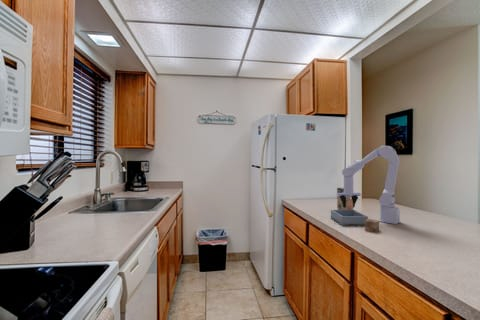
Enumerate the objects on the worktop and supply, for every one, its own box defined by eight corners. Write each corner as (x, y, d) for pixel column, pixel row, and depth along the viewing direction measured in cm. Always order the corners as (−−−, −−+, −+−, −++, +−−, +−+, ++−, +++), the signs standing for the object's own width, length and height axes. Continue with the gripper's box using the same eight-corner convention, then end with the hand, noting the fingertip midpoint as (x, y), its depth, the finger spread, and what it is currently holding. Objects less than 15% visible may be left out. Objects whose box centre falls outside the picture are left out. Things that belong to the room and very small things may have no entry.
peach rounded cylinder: (354, 210, 158) (354, 199, 158) (351, 211, 155) (350, 200, 155) (346, 209, 162) (346, 198, 162) (343, 210, 158) (343, 199, 158)
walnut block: (379, 230, 126) (378, 220, 126) (375, 232, 122) (375, 222, 122) (368, 228, 129) (368, 219, 129) (365, 230, 126) (364, 220, 126)
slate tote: (330, 217, 153) (330, 209, 153) (353, 217, 152) (353, 209, 152) (341, 225, 135) (341, 216, 135) (367, 225, 134) (367, 216, 134)
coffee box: (336, 209, 176) (336, 187, 176) (345, 209, 176) (345, 187, 176) (341, 212, 167) (341, 189, 167) (351, 212, 167) (351, 189, 167)
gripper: (357, 185, 162) (357, 206, 162) (334, 185, 162) (335, 206, 162) (362, 186, 155) (362, 208, 155) (338, 186, 155) (339, 208, 155)
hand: (348, 207), depth 158 cm, fingers closed on peach rounded cylinder, 5 cm apart
